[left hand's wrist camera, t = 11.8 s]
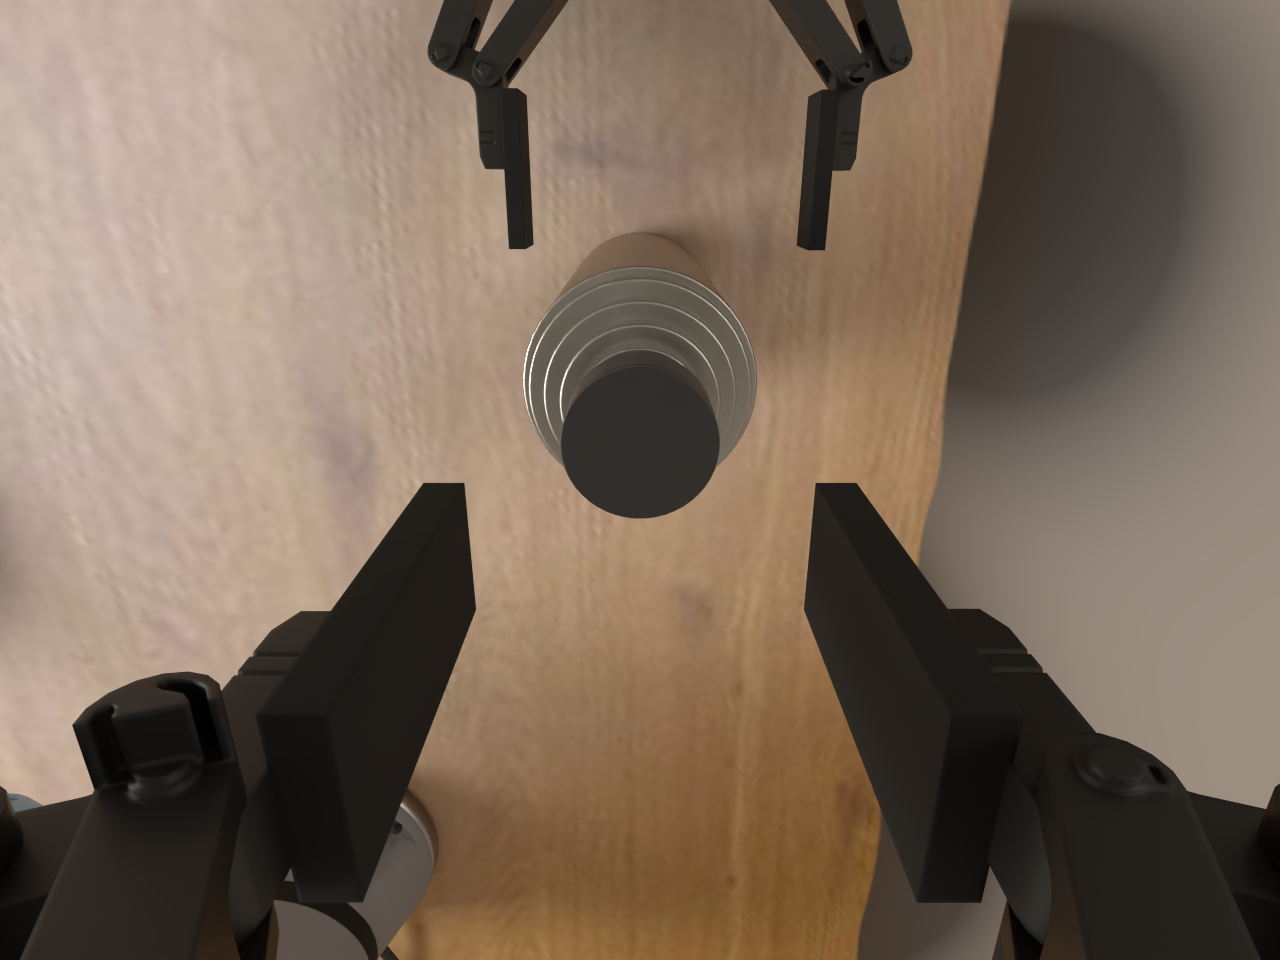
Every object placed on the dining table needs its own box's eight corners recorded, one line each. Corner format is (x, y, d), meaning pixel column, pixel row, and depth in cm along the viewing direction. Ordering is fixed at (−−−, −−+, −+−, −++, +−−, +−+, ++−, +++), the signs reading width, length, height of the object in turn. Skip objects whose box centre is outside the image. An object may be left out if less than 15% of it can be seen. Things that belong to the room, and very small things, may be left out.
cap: (674, 325, 21) (678, 339, 19) (736, 455, 22) (745, 479, 20) (539, 391, 21) (530, 411, 20) (608, 514, 23) (605, 542, 21)
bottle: (673, 206, 40) (713, 232, 18) (733, 339, 43) (832, 502, 21) (543, 274, 42) (434, 375, 20) (609, 400, 44) (578, 613, 22)
